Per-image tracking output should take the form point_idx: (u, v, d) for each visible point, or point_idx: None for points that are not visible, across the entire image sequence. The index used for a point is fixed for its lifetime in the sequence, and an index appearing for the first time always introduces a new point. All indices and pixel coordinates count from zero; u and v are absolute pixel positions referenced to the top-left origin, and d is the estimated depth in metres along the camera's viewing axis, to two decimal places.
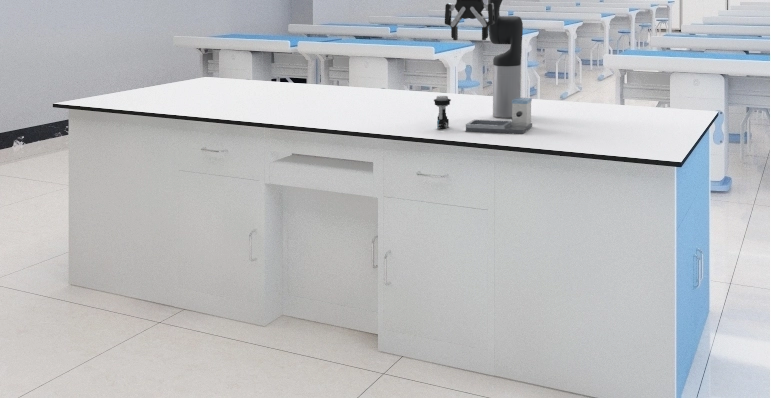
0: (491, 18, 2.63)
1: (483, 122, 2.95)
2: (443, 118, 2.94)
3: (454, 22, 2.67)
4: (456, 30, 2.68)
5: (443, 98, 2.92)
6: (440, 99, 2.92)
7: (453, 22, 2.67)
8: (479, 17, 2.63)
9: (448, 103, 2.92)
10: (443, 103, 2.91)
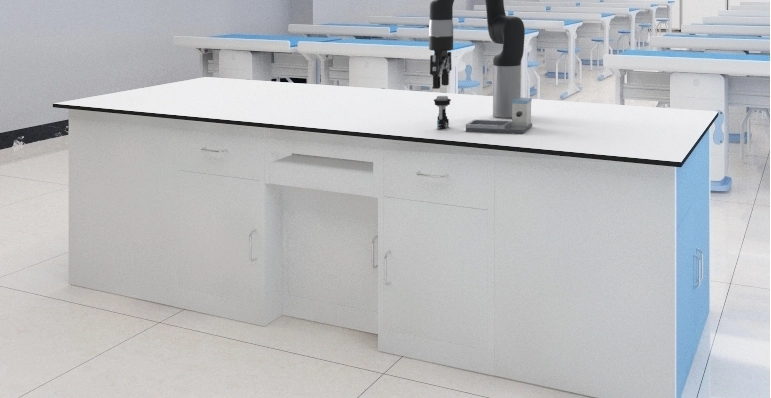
0: None
1: (483, 122, 2.95)
2: (443, 118, 2.94)
3: (440, 72, 2.86)
4: None
5: (443, 98, 2.92)
6: (440, 99, 2.92)
7: (440, 72, 2.86)
8: (449, 65, 2.93)
9: (448, 103, 2.92)
10: (443, 103, 2.91)
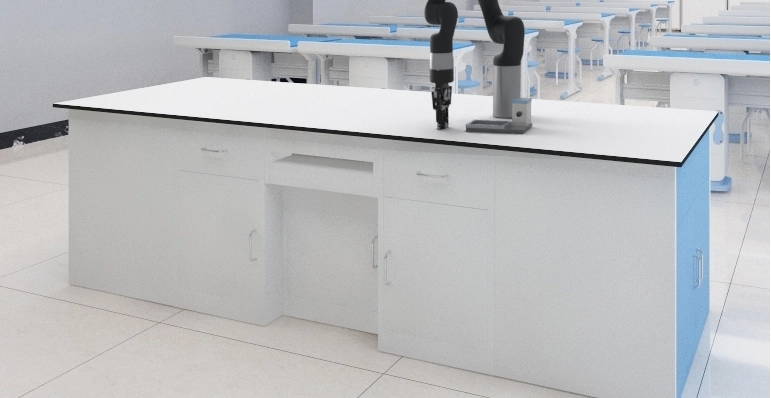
0: (450, 99, 2.98)
1: (483, 122, 2.95)
2: (443, 118, 2.94)
3: (443, 106, 2.91)
4: None
5: None
6: None
7: (442, 106, 2.91)
8: (449, 98, 2.95)
9: (448, 103, 2.92)
10: None
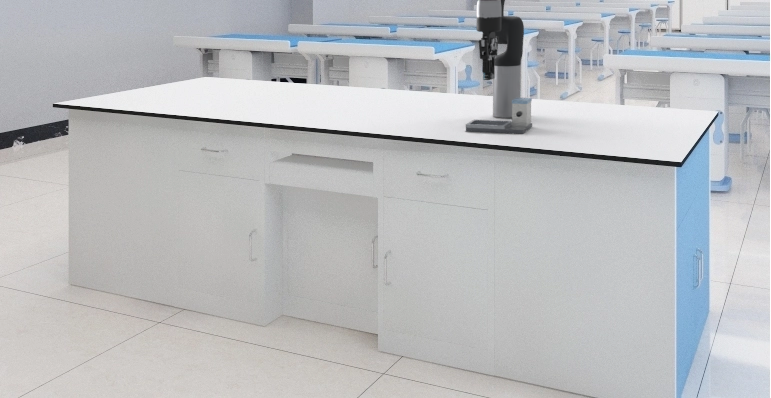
0: None
1: (483, 122, 2.95)
2: None
3: None
4: None
5: None
6: None
7: None
8: (496, 48, 2.86)
9: (495, 53, 2.84)
10: None
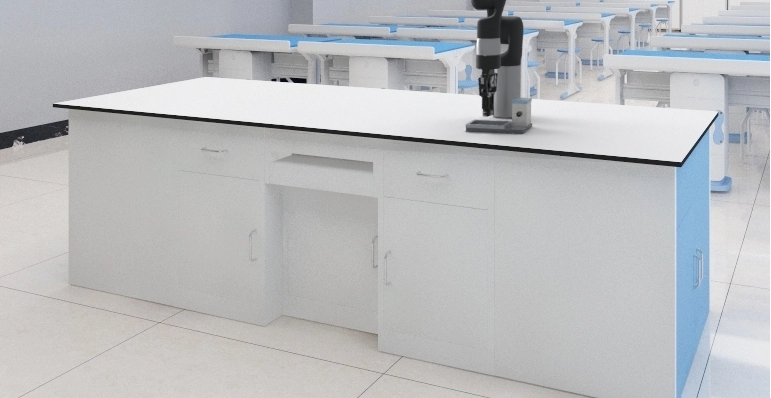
0: (496, 86, 2.92)
1: (483, 122, 2.95)
2: (489, 105, 2.88)
3: (489, 93, 2.85)
4: None
5: None
6: None
7: (489, 93, 2.85)
8: (495, 85, 2.89)
9: (494, 90, 2.86)
10: None
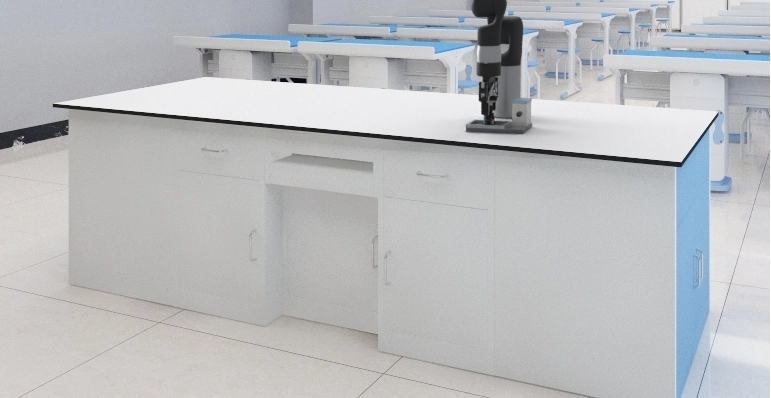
0: (497, 89, 2.94)
1: None
2: (490, 114, 2.89)
3: (488, 98, 2.84)
4: None
5: None
6: None
7: (488, 98, 2.84)
8: (496, 90, 2.90)
9: (496, 99, 2.88)
10: (491, 98, 2.87)
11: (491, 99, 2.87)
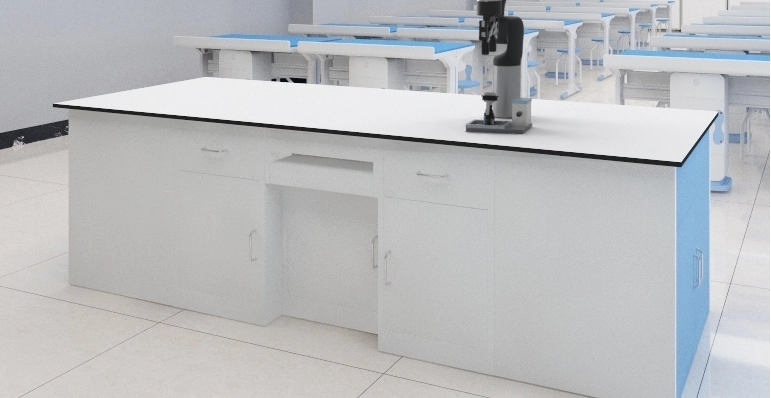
0: (498, 30, 2.89)
1: None
2: (490, 114, 2.89)
3: (489, 37, 2.79)
4: None
5: (491, 93, 2.88)
6: (488, 94, 2.88)
7: (489, 37, 2.79)
8: (497, 30, 2.86)
9: (496, 99, 2.88)
10: (491, 98, 2.87)
11: (491, 99, 2.87)
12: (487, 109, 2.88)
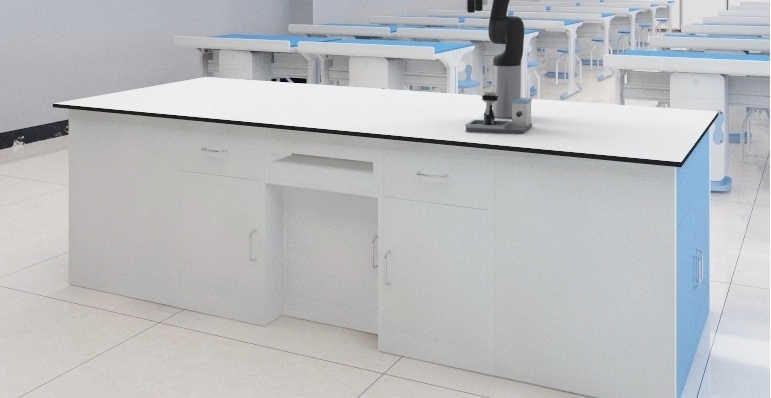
0: None
1: None
2: (490, 114, 2.89)
3: None
4: None
5: (491, 93, 2.88)
6: (488, 94, 2.88)
7: None
8: None
9: (496, 99, 2.88)
10: (491, 98, 2.87)
11: (491, 99, 2.87)
12: (487, 109, 2.88)
